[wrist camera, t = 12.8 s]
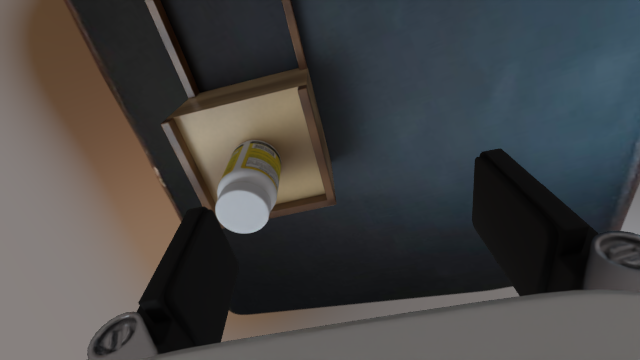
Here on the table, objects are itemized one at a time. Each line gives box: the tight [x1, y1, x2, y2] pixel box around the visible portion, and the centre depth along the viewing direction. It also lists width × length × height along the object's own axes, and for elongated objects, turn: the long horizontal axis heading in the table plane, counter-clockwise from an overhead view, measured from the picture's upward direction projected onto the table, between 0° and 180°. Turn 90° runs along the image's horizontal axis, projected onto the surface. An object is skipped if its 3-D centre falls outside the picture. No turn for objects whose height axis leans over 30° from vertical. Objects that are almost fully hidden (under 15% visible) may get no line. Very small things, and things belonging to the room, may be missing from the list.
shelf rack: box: [145, 0, 336, 228], centre depth 31 cm, size 24×13×9 cm, turn 13°
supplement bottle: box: [215, 140, 281, 233], centre depth 27 cm, size 5×5×8 cm
